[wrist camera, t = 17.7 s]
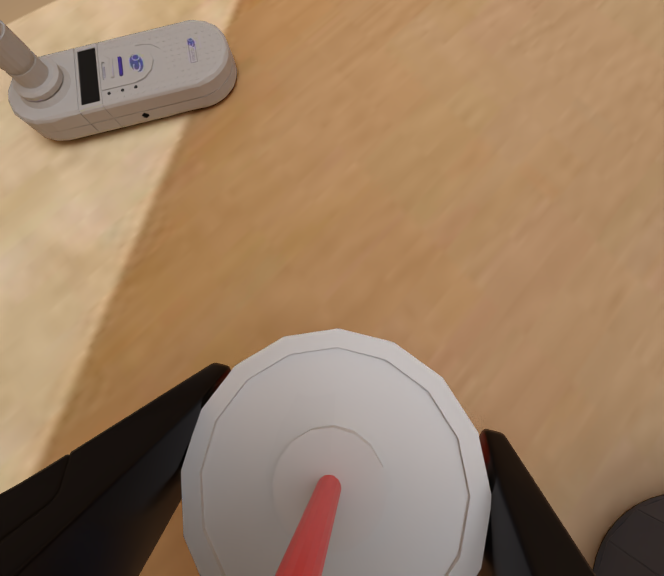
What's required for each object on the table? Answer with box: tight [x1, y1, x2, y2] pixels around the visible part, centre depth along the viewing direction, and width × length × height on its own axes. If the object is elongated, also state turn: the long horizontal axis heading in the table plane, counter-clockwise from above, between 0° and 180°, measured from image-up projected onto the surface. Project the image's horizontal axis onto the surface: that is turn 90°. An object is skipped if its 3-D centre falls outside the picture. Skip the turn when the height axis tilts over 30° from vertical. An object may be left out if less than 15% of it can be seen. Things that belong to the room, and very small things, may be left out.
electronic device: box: [0, 20, 237, 141], centre depth 23 cm, size 5×10×15 cm
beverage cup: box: [181, 328, 491, 576], centre depth 9 cm, size 6×6×14 cm
